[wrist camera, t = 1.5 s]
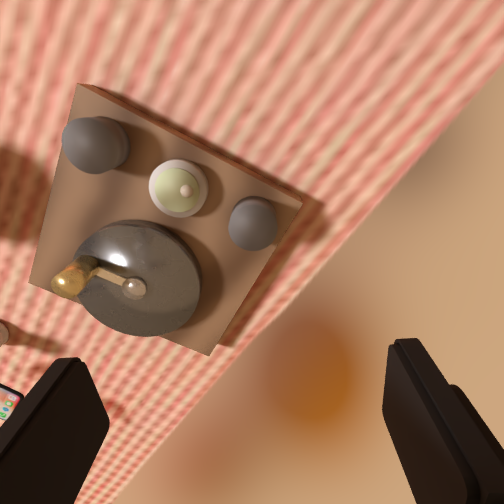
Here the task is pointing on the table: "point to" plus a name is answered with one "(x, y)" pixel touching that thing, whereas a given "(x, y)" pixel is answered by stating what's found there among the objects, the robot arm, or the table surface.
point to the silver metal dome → (134, 278)
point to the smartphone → (8, 401)
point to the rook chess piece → (3, 334)
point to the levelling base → (162, 205)
